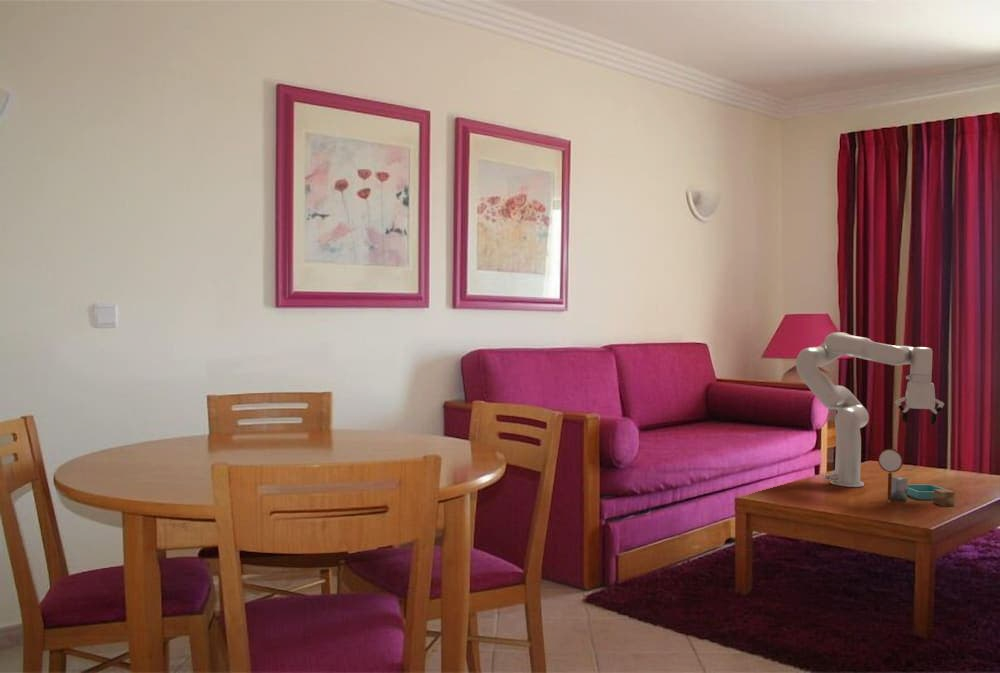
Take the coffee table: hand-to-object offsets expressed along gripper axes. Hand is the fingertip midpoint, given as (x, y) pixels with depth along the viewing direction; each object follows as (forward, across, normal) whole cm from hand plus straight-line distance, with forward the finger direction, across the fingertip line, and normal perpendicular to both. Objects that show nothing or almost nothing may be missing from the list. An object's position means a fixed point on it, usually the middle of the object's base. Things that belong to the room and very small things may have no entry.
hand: (918, 423), depth 344 cm
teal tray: (+28, +3, -2) cm, 28 cm away
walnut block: (+28, +6, -16) cm, 32 cm away
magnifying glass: (+28, -14, -20) cm, 37 cm away
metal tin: (+28, -9, -12) cm, 32 cm away
